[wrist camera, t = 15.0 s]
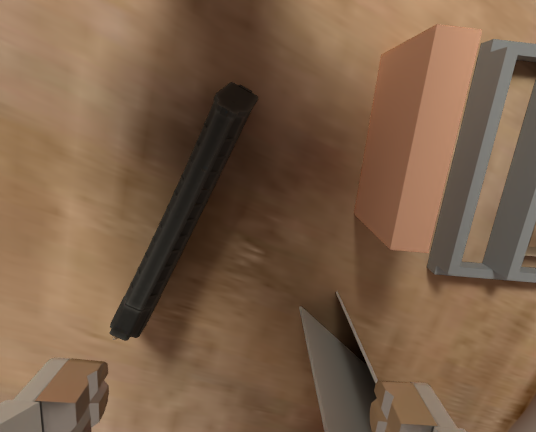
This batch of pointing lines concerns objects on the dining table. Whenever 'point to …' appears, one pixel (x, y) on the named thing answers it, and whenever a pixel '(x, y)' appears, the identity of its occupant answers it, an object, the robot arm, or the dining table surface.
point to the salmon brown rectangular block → (414, 134)
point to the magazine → (184, 208)
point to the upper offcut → (533, 238)
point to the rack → (474, 168)
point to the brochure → (339, 378)
